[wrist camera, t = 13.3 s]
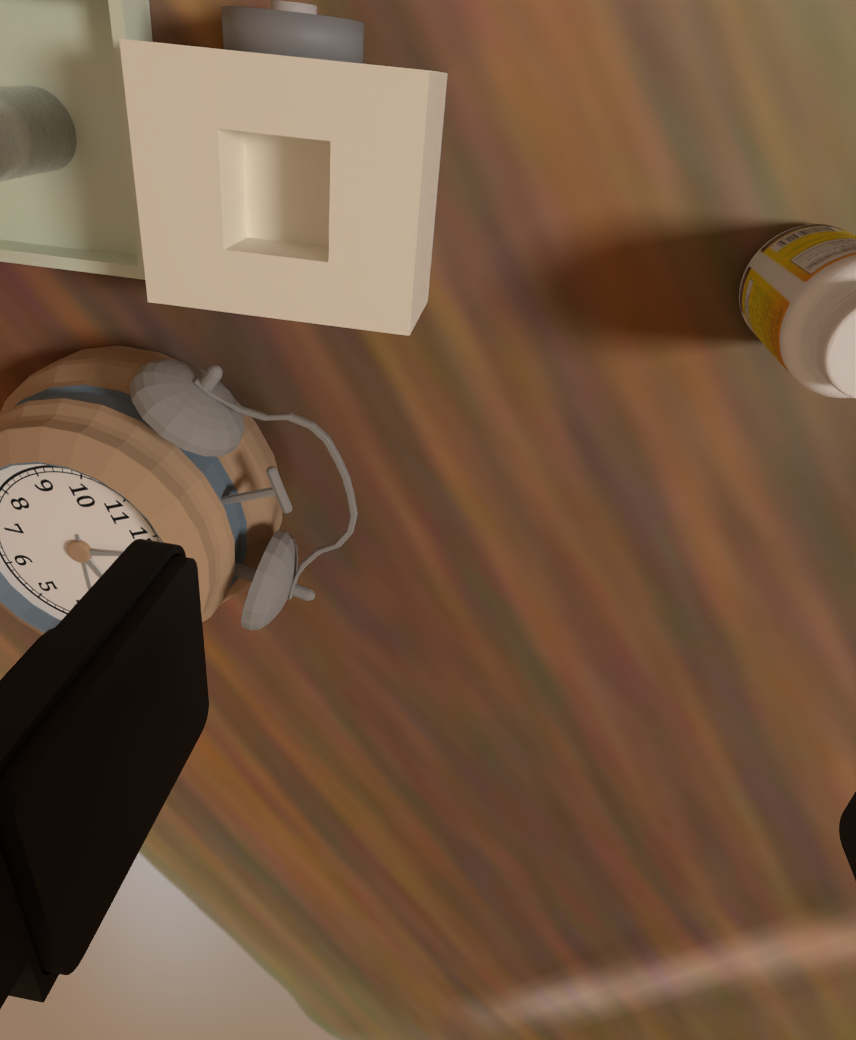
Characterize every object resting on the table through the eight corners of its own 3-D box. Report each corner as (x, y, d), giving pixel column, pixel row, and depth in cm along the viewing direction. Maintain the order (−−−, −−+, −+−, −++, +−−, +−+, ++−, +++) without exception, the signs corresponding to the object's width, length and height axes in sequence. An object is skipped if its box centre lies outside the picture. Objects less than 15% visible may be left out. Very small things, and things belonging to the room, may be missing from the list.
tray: (-109, -37, 33) (-154, -46, 31) (148, -12, 32) (119, -19, 30) (-44, 242, 39) (-78, 251, 37) (173, 269, 38) (151, 280, 36)
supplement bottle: (795, 363, 37) (875, 449, 28) (710, 298, 36) (765, 367, 27) (890, 267, 34) (1011, 330, 25) (801, 194, 33) (894, 234, 24)
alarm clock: (-165, 444, 36) (262, 338, 30) (-37, 379, 44) (320, 286, 38) (17, 701, 44) (382, 655, 38) (97, 607, 51) (410, 557, 46)
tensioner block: (181, -3, 32) (112, -20, 27) (451, 23, 31) (434, 11, 26) (200, 273, 38) (147, 302, 33) (427, 301, 37) (409, 335, 32)
